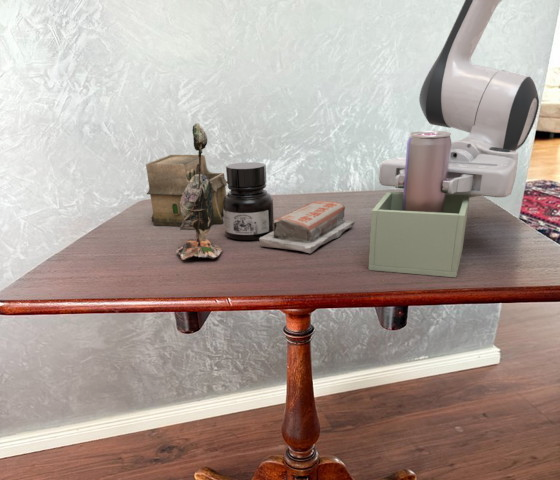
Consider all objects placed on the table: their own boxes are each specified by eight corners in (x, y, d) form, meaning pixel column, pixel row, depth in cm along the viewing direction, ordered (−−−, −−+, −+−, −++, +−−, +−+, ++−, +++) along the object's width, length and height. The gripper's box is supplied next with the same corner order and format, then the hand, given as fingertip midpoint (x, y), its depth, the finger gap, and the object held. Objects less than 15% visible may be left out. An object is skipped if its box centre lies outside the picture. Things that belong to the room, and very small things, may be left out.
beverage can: (392, 237, 84) (399, 132, 76) (426, 233, 85) (436, 129, 78) (412, 248, 79) (422, 137, 72) (448, 243, 81) (461, 133, 73)
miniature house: (141, 228, 106) (131, 166, 100) (170, 210, 117) (163, 154, 112) (213, 230, 102) (207, 166, 96) (236, 212, 114) (232, 154, 108)
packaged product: (307, 196, 103) (355, 201, 99) (307, 222, 105) (354, 227, 101) (257, 218, 90) (310, 225, 85) (258, 247, 92) (310, 255, 88)
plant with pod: (229, 242, 95) (220, 117, 85) (217, 263, 85) (205, 125, 75) (184, 243, 96) (169, 118, 86) (167, 263, 86) (148, 126, 76)
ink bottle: (216, 240, 97) (209, 169, 91) (233, 227, 104) (228, 160, 98) (268, 243, 94) (265, 170, 88) (281, 229, 102) (279, 161, 96)
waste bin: (462, 251, 87) (470, 195, 83) (456, 277, 77) (464, 215, 72) (383, 245, 91) (387, 191, 87) (368, 270, 81) (371, 210, 76)
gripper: (402, 144, 91) (360, 156, 82) (529, 151, 80) (497, 166, 70) (400, 183, 94) (359, 199, 85) (521, 195, 83) (489, 215, 74)
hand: (422, 185), depth 78 cm, fingers closed on beverage can, 6 cm apart
